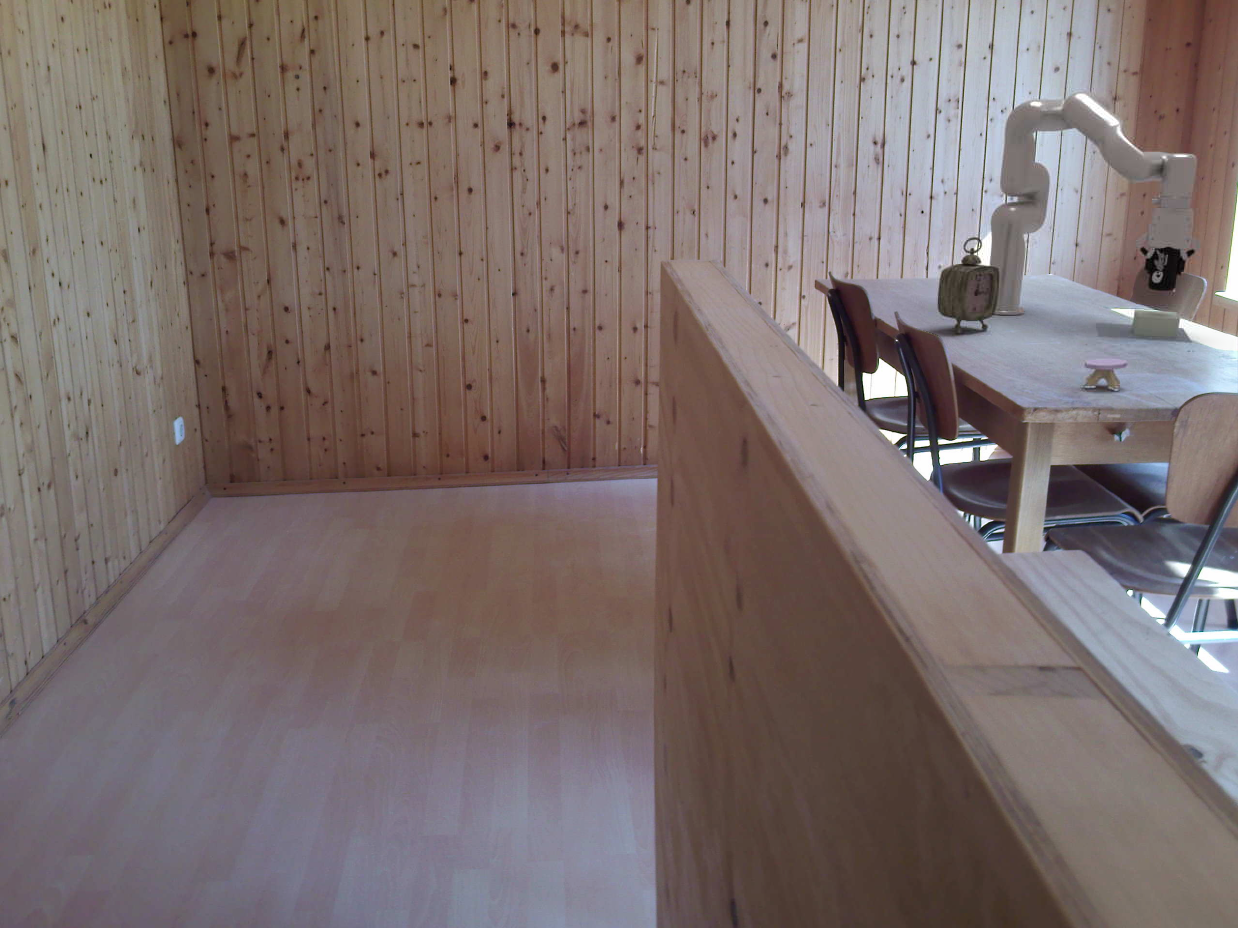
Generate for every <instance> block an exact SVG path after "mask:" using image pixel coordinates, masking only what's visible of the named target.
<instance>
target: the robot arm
mask: <svg viewBox="0 0 1238 928" xmlns="http://www.w3.org/2000/svg"><path fill="white" fill-rule="evenodd" d="M1072 129H1076V130H1077V131H1078V132H1079V133H1080V134H1081V135H1083V136H1084V137H1085V138H1087V139H1088V140H1089V141H1090V142H1091V143H1092V144H1093V145H1095V146H1096V147H1097V148H1098V151H1099V153H1100V155H1101V156H1102V158H1103V159H1104V161H1105V162H1106V164H1108V165H1109V166H1110V168H1112V169H1113V170H1114V171H1115V172H1117V173H1118V174H1119V175H1120V176H1121V177H1123V178H1124V179H1126V180H1128V181H1130V182H1132V183H1146V182H1147V183H1148V182H1149V183H1151V182H1160V187H1159V195H1158V196H1157V197H1155V198H1152V199H1151V200H1152V201H1151V204H1152V205H1156V206H1157V207H1156V208H1154V209H1153V212H1152V214H1151V218H1150V221H1149V227H1148V229H1147V230H1148V231H1147V232H1146V233H1145V234H1143V235H1142V236H1141V237H1140V238H1138V239H1136V241H1134V245H1135V246H1136V247H1137V248H1138V250H1139V251H1140V252H1141V254H1143V255H1144V256H1145V263H1144V271H1146V274H1147V275H1149V274H1151V268H1152V261H1153V259H1152V254H1153V253H1154V251H1155V249H1160V248H1165V247H1172V248H1174V249H1178V250H1180V253H1181V254H1180V261H1179V267H1178V273H1177V276H1181V275H1182V273H1184V272H1185V269H1186V268H1185V267H1186V266H1185V265H1186V262H1187V260H1188V259H1189V258H1190V257H1192V256H1193V255H1194V254H1195V253H1196V252H1198V250H1200V249H1201V248H1202V247H1203V245H1202V243H1201V242H1200V241H1199V240H1198V239H1197V238H1196V237H1195V236H1193V229H1194V228H1193V227H1194V226H1193V225H1194V210H1193V209H1191V208H1190V207H1191V204H1192V203H1191V202H1192V197H1193V190H1194V183H1195V177H1196V170H1197V164H1198V158H1197V156H1196V155H1195V154H1192V153H1168V152H1163V151H1142V150H1140V149H1139V148H1137V147H1136V146H1135V145H1134V144H1132V143H1131V142H1130V141H1129V140H1128V138H1126V137H1125V136H1124V134H1123V132H1124V129H1125V123H1124V121H1123V120H1122V118H1120V117H1119V116H1117V115H1116V114H1114V112H1112V111H1111V104H1110V101H1109V99H1108V97H1107V96H1105V95H1104V94H1102V93H1101V92H1097V91H1079V92H1075V93H1073V94H1071V95H1069V96H1068V97H1067V98H1061V99H1047V98H1046V99H1042V98H1041V99H1039V98H1038V99H1032V100H1030V99H1029V100H1027V101H1025V102H1022V103H1020V104H1018V105H1017V106H1016V107H1015V108H1014V109H1012V111H1011V112H1010V114H1009V115H1008V117H1007V119H1006V123H1005V127H1004V145H1003V153H1002V154H1003V155H1002V160H1001V161H1002V162H1001V163H1002V164H1001V170H1000V181H999V182H1000V183H999V184H1000V187H999V188H1000V190H1001V192H1002V194H1003V195H1005V196H1007V197H1011V198H1017V199H1016V201H1010V202H1005V203H1002V204H1001V205H999V206H998V207H996V209H994V211H993V212H992V216H991V218H990V232H991V246H990V248H991V249H990V259H989V266H993V267H996V268H998V269H999V293H998V299H997V305H996V309H995V312H994V315H997V316H998V315H1001V316H1005V315H1006V316H1017V315H1023V314H1024V313H1025V308H1024V307H1022V306H1020V305H1021V295H1022V294H1021V293H1022V287H1023V278H1024V269H1025V258H1026V242H1025V241H1026V240H1025V237H1024V235H1029V234H1034V233H1036V232H1037V231H1039V230H1040V229H1041V228H1042V227H1043V225H1044V224H1045V220H1046V217H1047V210H1048V203H1049V194H1050V186H1051V180H1050V179H1051V177H1050V174H1049V171H1048V169H1047V168H1046V166H1045V165H1043V164H1042V163H1040V162H1036V161H1035V155H1036V150H1037V149H1036V140H1035V137H1034V134H1035V133H1036V132H1060V131H1066V130H1072ZM1145 241H1146V244H1147V246H1148V249H1147V248H1146V247H1145V246H1144V245H1143V243H1144V242H1145ZM1191 243H1192V244H1193V246H1192V247H1191ZM1168 244H1171V245H1168ZM1190 247H1191V248H1190ZM1187 249H1188V250H1187Z"/></svg>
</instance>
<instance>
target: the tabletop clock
mask: <svg viewBox="0 0 1238 928" xmlns="http://www.w3.org/2000/svg"><path fill="white" fill-rule="evenodd" d="M970 241H978V242H979V244H980V245H979V247H978V248H977V249H976V250H975V247H971V248H969V249H970V250H967V248H966V246H967V244H968V243H969V242H970ZM982 247H983V242H982V240H981V239H980V238H979V237H975V236H973V237H969V238H968V239H966V241H965V242H964V244H963V251H964V252H965V253H966V254H967V255H964V256H963V257H962V259H961V260H960V263H957V264H953V265H950V266H948V267H946V268H944V269H942V270H941V273H940V276H939V281H938V282H939V283H938V290H937V310H938V312H939V314H940V315H941V316H943V317H946V318H949V319H954V320H956V324H954V329H955V330H954V332H955V334H956V335H960V334H961V333H962V329H961V328H962V327H961V322H962V321H966V322H980V324H981V329H982V330H983V331H987V330H988V328H989V327H988V324H986V323H984V321H985V320H987V319H990V318H991V317H993V316H994V315H995V314H994V312H995V309H996V305H997V299H998V293H999V269H998V268H996V267H993V266H990V265H985V264H982V259H981V258H980V257H979V256H978V255H977V253H978V252H979V251H980V250H981V249H982Z"/></svg>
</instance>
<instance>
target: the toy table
mask: <svg viewBox="0 0 1238 928" xmlns="http://www.w3.org/2000/svg"><path fill="white" fill-rule="evenodd" d="M1127 365H1128V361H1127V360H1126V359H1121V358H1111V357H1110V358H1109V357H1107V358H1105V357H1104V358H1093V359H1088V360H1085V362H1084V368H1085V369H1089V370H1094V371H1093V372H1092V373H1091V374H1090V375H1088V376H1087V377H1086V381H1087V382H1085V384H1084V386H1096V385H1097V386H1098V383H1099V382H1100V381H1101V380H1102V379H1104V380H1105V381H1106V384H1107V388H1108V387H1111V388H1113V389H1119V390H1120V385H1121V381H1120V379H1119V378H1118V377H1117V375H1116V373H1115V370H1120V369H1124V368H1126V367H1127ZM1118 384H1120V385H1119V386H1118ZM1097 386H1096V387H1097Z"/></svg>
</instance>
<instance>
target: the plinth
mask: <svg viewBox="0 0 1238 928" xmlns="http://www.w3.org/2000/svg"><path fill="white" fill-rule="evenodd" d="M1180 320H1181V318H1180V317H1179V314H1178V313H1177V312H1176V311H1159V310H1145V309H1134V313H1133V320H1132V325H1133V326H1132V329H1133V331H1134V334H1135V335H1142V336H1157V337H1173V338H1177V335H1178V328H1180V322H1181V321H1180Z"/></svg>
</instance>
